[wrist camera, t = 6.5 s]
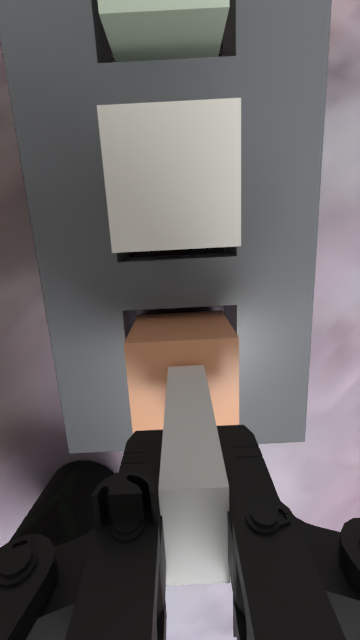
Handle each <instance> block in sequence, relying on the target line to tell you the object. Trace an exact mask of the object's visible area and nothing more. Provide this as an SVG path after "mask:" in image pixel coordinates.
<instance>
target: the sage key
mask: <svg viewBox="0 0 360 640" xmlns="http://www.w3.org/2000/svg"><path fill="white" fill-rule="evenodd" d="M229 7H230V0H98V11H99V16H100V19H101V22H102V25H103V28H104V30H105V33H106V36H107V39H108V42H109V45H110V48H111V51H112V54H113V57H114V60H115V62H130V61H149V60H168V59H187V58H205V57H218V55H219V51H220V47H221V42H222V38H223V33H224V29H225V25H226V20H227V16H228V12H229Z"/></svg>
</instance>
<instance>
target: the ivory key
mask: <svg viewBox="0 0 360 640" xmlns="http://www.w3.org/2000/svg"><path fill="white" fill-rule="evenodd" d="M97 114H98V123H99V133H100V142H101V152H102V161H103V171H104V181H105V190H106V200H107V209H108V219H109V228H110V238H111V248H112V253H122V252H141V251H160V250H179V249H198V248H218V247H237V246H241V98H225V99H206V100H187V101H168V102H149V103H130V104H112V105H97Z"/></svg>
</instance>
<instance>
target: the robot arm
mask: <svg viewBox="0 0 360 640" xmlns="http://www.w3.org/2000/svg"><path fill="white" fill-rule="evenodd" d="M91 497H92V503H93V510H94V516H95V523H96V528H95V529H93V530H92V531H90V532H89V533H87V534H86V535H84V536H81V537H79V538H77V539H74V540H72V541H69V542H66V543H63V544H60V545H57V546H53V544H52V542H51V541H50V539H49V538H47V537H45V536H43V535H41V534H27V535H24V536H21V537H18V538H15V539H13V540H12V541H10V542H9V543H7V544H5V545H4V546H2V547H1V548H0V640H166V617H167V615H166V603H165V588H166V586H170V585H193V584H216V583H230V577H231V583H232V590H233V633H234V637H237V640H360V518H353V519H351V520H349V521H348V522H346V523H344V525H343V528H342V530H341V532H337V531H333V530H329V529H325V528H321V527H317V526H314V525H311V524H308V523H305V522H303V521H302V520H300V519H298V518H296V517H295V516H294V515H293V514H292V512H291V511H290V509H289V508H288V507H287V506H286V505H284V504H283V503H282V502H281V501H280V499H279V497H278V495H277V492H276V490H275V487H274V484H273V482H272V479H271V477H270V474H269V472H268V469H267V466H266V464H265V461H264V459H263V458H262V454H261V451H260V448H259V447H258V443H257V441H256V438H255V436H254V434H253V433H252V432H251V431H250V430H249V429H248V428H247V427H246V426H245V425H224V426H216V421H215V416H214V411H213V406H212V401H211V397H210V392H209V387H208V382H207V377H206V372H205V367H204V365H192V366H172V367H168V374H167V387H166V399H165V412H164V424H163V430H143V431H135V432H134V433H133V435H132V436H131V437H130V438H129V439H128V440H127V442H126V446H125V450H124V456H123V458H122V462H121V466H120V470H119V472H118V473H115V474H113V475H111V476H109V477H107V478H105V479H104V480H103V481H102V482H101V483H100V484H99V485H98V486H97V487H96V489H95V490H94V492H93V494H92V496H91Z"/></svg>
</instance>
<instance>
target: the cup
mask: <svg viewBox="0 0 360 640" xmlns="http://www.w3.org/2000/svg"><path fill="white" fill-rule="evenodd" d="M113 474H114V473H113V472H112V471H111V470H110V469H108V468H107V467H106V466H103V465H101V464H99V463H96V462H92V461H75V462H71V463H68V464H66V465H64V466H62V467H61V468H60V469H58V470H57V471H56V473H55V474H54V475H53V477H52V478H51V480H50V481H49V483H48V484H47V486H46V487H45V489H44V490H43V492H42V493H41V495H40V496H39V498H38V499H37V501H36V502H35V504H34V505H33V507H32V508H31V510H30V511H29V513H28V514H27V516H26V517H25V519H24V520H23V522H22V523H21V525H20V526H19V528H18V529H17V531H16V532H15V534H14V535H13V537H12V538H11V540H10V541H12V540H13V539H15V538H18V537H21V536H24V535H27V534H41V535H43V536H45V537H47V538H49V539H50V541H51V542H52V544H53V546H57V545H60V544H63V543H66V542H69V541H72V540H74V539H77V538H79V537H81V536H84V535H86V534H87V533H89V532H90V531H92V530H93V529H95V528H96V523H95V516H94V510H93V503H92V497H91V496H92V494H93V492H94V490H95V489H96V487H97V486H98V485H99V484H100V483H101V482H102V481H103V480H104V479H105V478H107V477H109V476H111V475H113ZM10 541H9V542H10Z"/></svg>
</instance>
